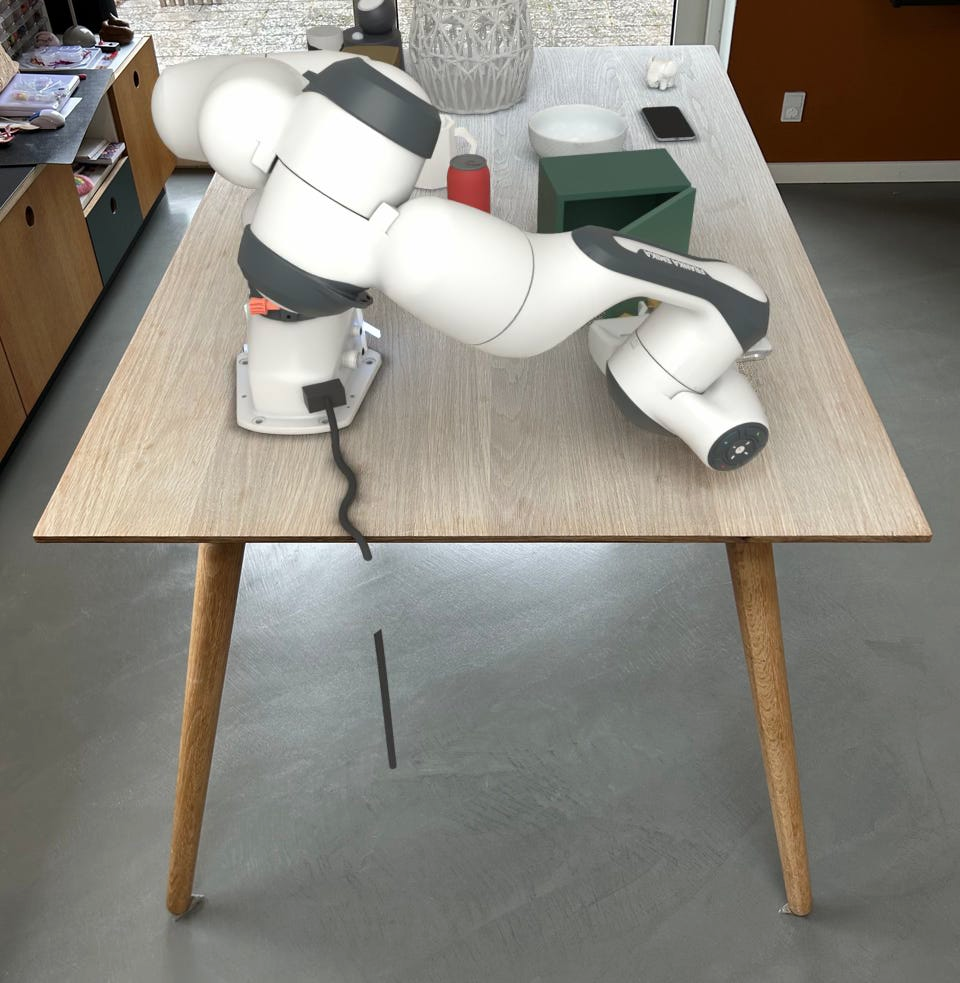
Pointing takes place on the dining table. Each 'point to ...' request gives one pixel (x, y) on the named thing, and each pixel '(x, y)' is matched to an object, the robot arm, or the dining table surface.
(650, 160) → the cupboard
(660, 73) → the elephant figurine
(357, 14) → the light fixture
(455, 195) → the beer can
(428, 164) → the mug
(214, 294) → the dining table surface
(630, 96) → the dining table surface
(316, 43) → the cup
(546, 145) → the cereal bowl
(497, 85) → the vase
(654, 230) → the door
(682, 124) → the smartphone
